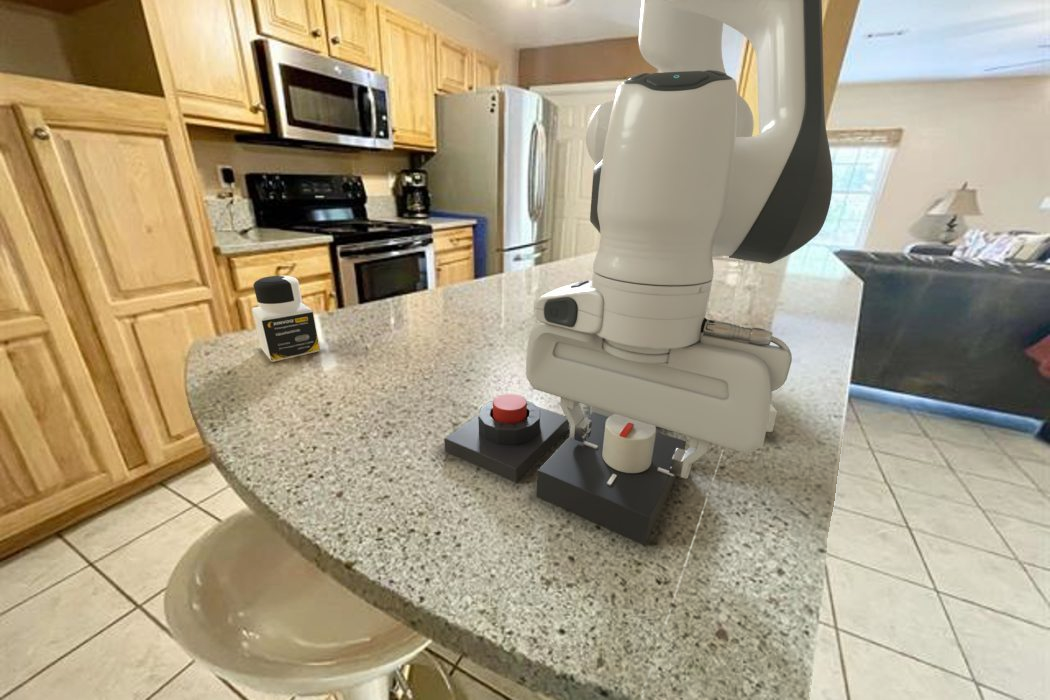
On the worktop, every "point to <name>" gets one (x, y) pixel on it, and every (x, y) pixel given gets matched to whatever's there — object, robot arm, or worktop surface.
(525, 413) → the power button
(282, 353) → the medicine bottle
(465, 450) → the box
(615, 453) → the dial
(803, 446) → the worktop surface
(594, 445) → the control panel
